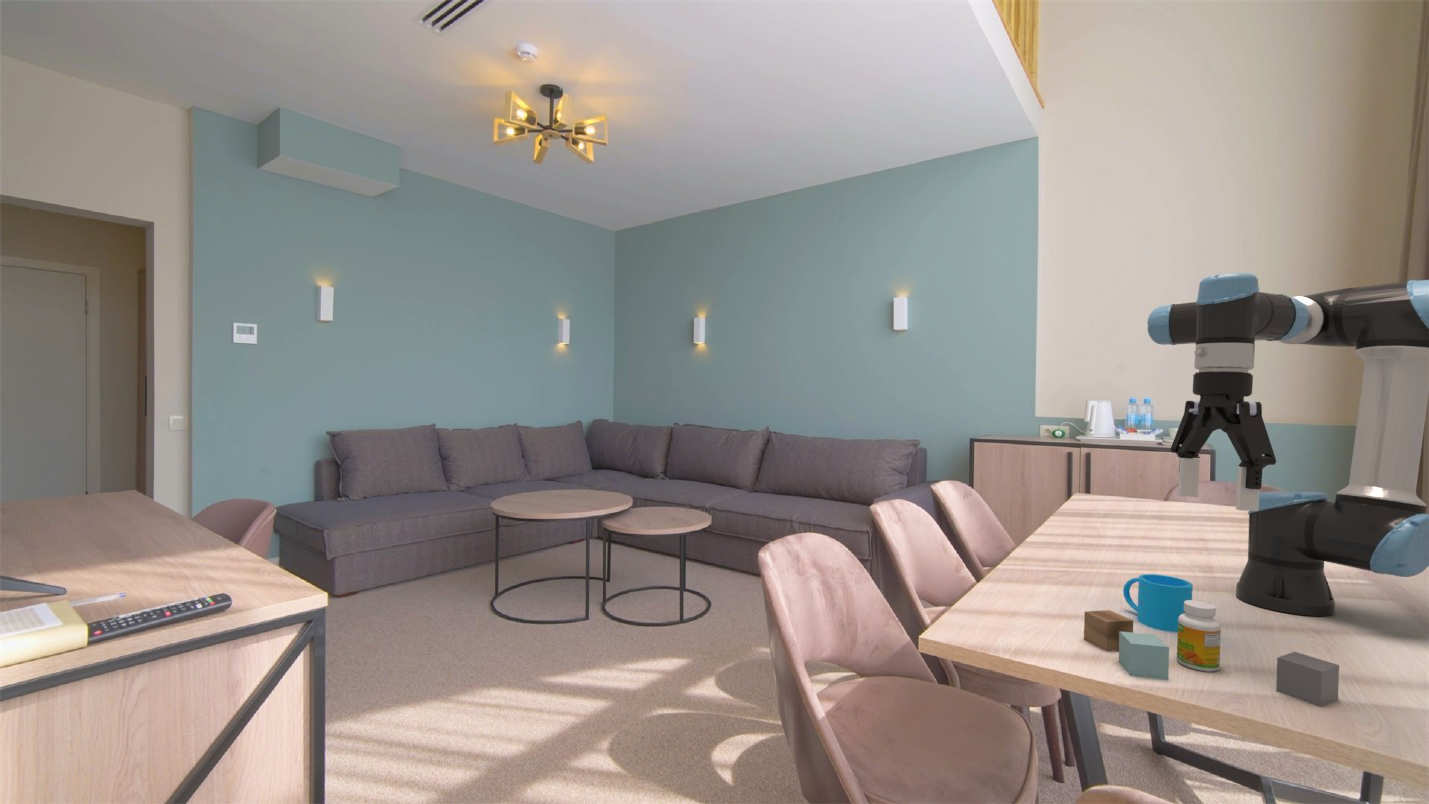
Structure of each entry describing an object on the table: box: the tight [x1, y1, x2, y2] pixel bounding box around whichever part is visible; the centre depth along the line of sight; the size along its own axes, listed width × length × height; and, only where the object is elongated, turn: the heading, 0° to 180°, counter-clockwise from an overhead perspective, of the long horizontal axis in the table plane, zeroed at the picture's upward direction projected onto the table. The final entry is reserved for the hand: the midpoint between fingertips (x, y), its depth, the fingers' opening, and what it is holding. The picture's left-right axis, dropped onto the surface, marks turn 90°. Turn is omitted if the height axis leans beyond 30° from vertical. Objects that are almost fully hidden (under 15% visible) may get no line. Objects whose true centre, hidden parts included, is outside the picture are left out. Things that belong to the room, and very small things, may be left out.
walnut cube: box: [1083, 609, 1134, 652], centre depth 109 cm, size 5×5×5 cm
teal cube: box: [1118, 631, 1170, 681], centre depth 99 cm, size 5×5×5 cm
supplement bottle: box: [1176, 599, 1222, 673], centre depth 101 cm, size 5×5×10 cm
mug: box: [1122, 573, 1194, 633], centre depth 120 cm, size 12×8×8 cm
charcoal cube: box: [1275, 651, 1340, 708], centre depth 91 cm, size 5×5×5 cm
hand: (1215, 503), depth 103 cm, fingers open, 13 cm apart
